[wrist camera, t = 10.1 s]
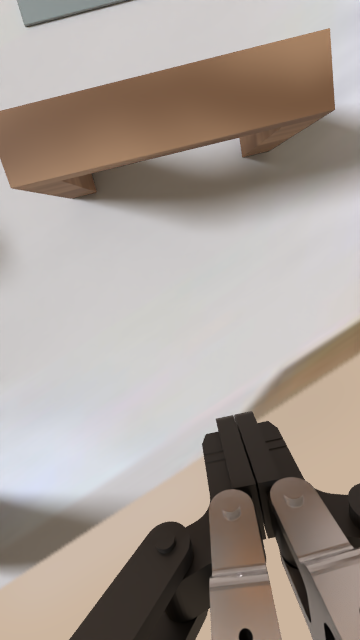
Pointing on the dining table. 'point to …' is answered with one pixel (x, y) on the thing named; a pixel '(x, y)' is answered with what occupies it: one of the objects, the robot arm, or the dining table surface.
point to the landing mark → (56, 8)
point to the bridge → (169, 114)
